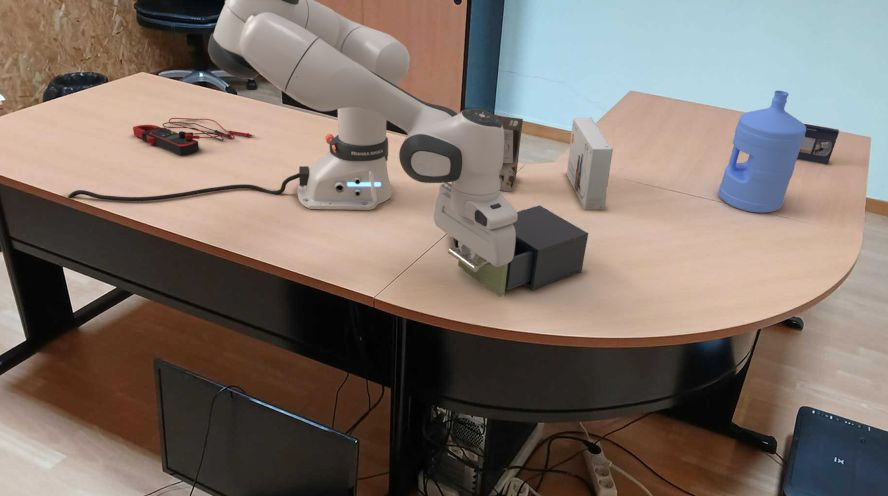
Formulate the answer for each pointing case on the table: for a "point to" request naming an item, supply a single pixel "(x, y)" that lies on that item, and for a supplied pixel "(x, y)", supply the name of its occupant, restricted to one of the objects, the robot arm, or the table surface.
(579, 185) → the skincare box
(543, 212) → the cabinet
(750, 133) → the water jug
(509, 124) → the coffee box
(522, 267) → the drawer
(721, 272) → the table surface
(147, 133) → the digital clamp meter
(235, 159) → the table surface
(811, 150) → the vhs cassette tape
